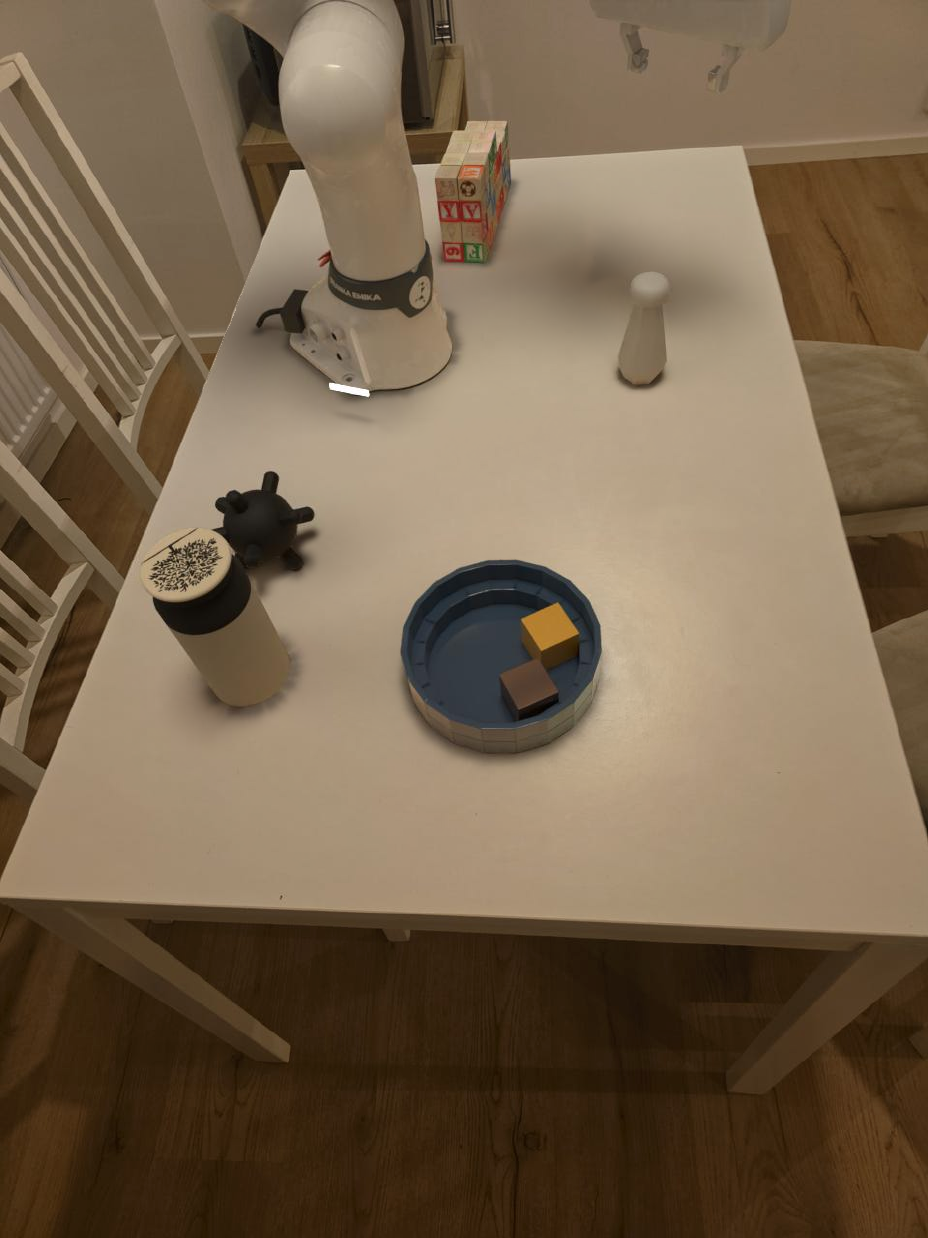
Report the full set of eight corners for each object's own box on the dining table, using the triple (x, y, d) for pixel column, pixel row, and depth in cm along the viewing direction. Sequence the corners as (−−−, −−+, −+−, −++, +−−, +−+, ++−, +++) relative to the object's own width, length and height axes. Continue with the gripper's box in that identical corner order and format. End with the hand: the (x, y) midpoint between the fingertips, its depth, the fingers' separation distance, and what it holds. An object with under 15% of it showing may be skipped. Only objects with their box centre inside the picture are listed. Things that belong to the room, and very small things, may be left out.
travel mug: (304, 681, 79) (248, 570, 64) (230, 723, 77) (155, 618, 63) (271, 626, 83) (211, 509, 68) (200, 664, 81) (122, 553, 67)
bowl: (371, 687, 78) (360, 658, 74) (486, 564, 85) (482, 531, 81) (523, 794, 71) (521, 769, 66) (634, 650, 78) (640, 618, 74)
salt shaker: (673, 370, 100) (688, 274, 89) (647, 396, 98) (659, 301, 87) (633, 352, 102) (643, 257, 91) (607, 377, 100) (614, 283, 89)
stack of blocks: (472, 182, 128) (466, 97, 118) (511, 182, 127) (508, 97, 117) (443, 261, 117) (433, 175, 106) (486, 263, 115) (480, 176, 105)
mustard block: (521, 641, 79) (520, 619, 76) (557, 625, 80) (558, 602, 76) (541, 673, 77) (541, 651, 74) (578, 655, 78) (579, 633, 74)
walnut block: (500, 695, 76) (498, 674, 73) (538, 678, 77) (538, 657, 73) (519, 730, 74) (518, 710, 70) (558, 712, 74) (559, 691, 71)
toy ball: (342, 558, 84) (227, 589, 79) (313, 561, 93) (210, 589, 88) (314, 457, 82) (196, 482, 77) (288, 470, 92) (181, 494, 87)
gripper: (580, -93, 76) (576, 71, 88) (783, -62, 68) (749, 114, 79) (617, -115, 79) (608, 47, 90) (817, -87, 70) (779, 87, 82)
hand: (675, 79), depth 85 cm, fingers open, 8 cm apart
